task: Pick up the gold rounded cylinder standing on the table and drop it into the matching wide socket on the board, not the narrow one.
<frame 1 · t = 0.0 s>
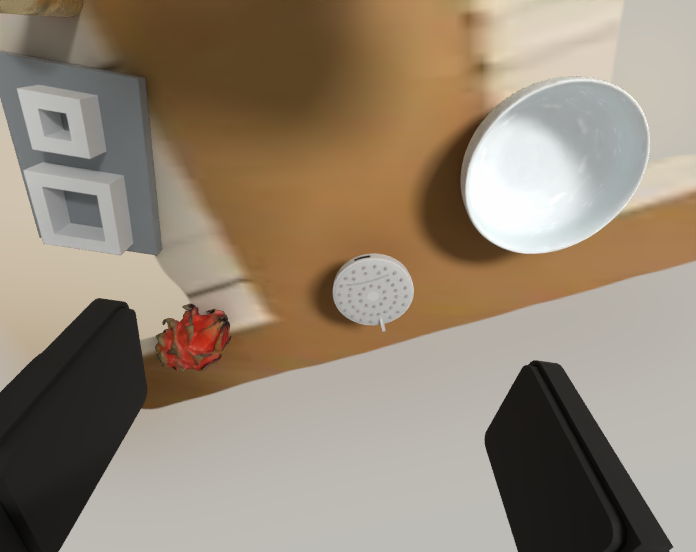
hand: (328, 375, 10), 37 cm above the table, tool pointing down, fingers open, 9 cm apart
socket board: (91, 163, 44), on the table
showerhead: (371, 267, 51), on the table
cereal bowl: (526, 156, 43), on the table
dragon fruit: (204, 320, 56), on the table
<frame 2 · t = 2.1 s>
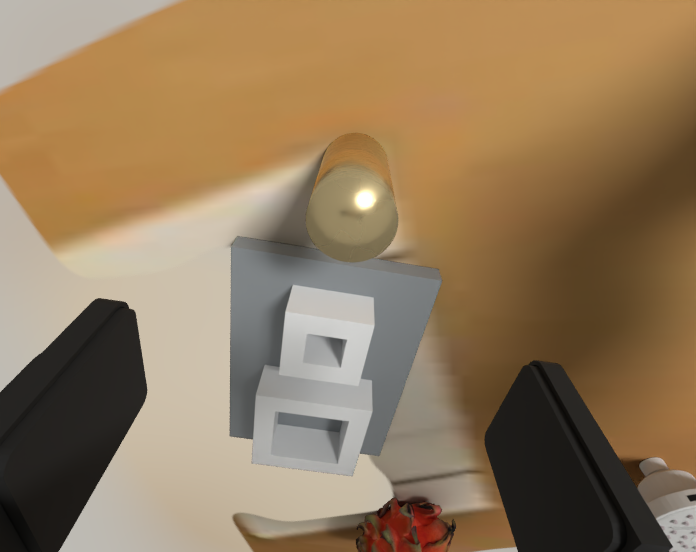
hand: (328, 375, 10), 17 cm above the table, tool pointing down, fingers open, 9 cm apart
gold rounded cylinder: (354, 167, 24), on the table
socket board: (320, 357, 32), on the table
showerhead: (649, 463, 39), on the table
dragon fruit: (401, 503, 44), on the table
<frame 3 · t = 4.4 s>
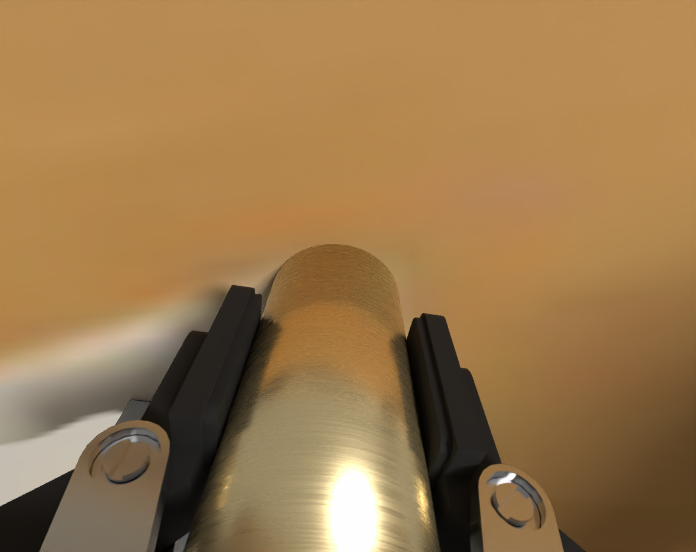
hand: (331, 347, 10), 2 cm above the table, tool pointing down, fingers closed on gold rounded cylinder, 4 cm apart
gold rounded cylinder: (334, 300, 12), on the table, touching gripper
socket board: (290, 542, 21), on the table
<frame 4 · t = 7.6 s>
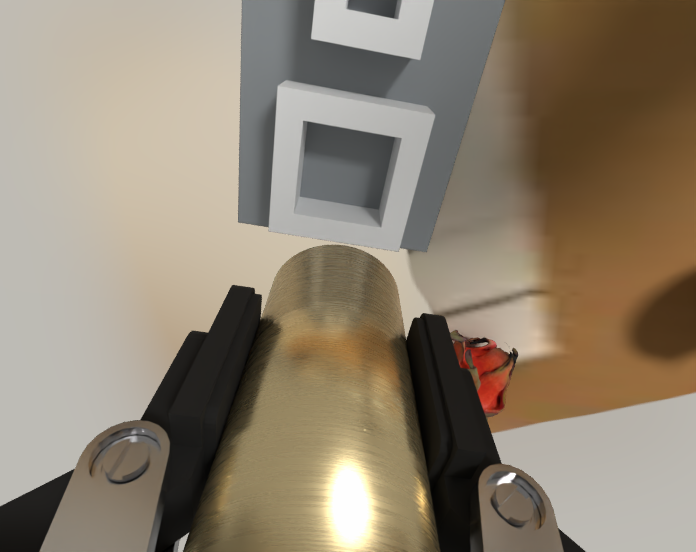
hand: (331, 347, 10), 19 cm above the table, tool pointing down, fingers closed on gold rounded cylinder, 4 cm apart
gold rounded cylinder: (334, 301, 12), point 17 cm above the table, touching gripper
socket board: (358, 86, 25), on the table
dragon fruit: (443, 352, 37), on the table
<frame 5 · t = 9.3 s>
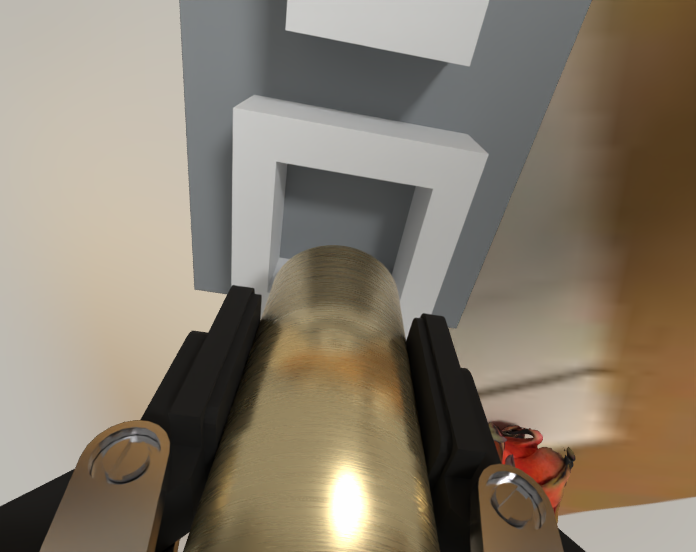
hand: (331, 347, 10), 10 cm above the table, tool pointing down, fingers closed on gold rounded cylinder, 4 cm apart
gold rounded cylinder: (334, 301, 12), point 8 cm above the table, touching gripper
socket board: (363, 103, 17), on the table
dragon fruit: (469, 436, 29), on the table
when the fingers open (5 cm above the table, at t = 11.0 s): gold rounded cylinder drops 2 cm, resting on socket board.
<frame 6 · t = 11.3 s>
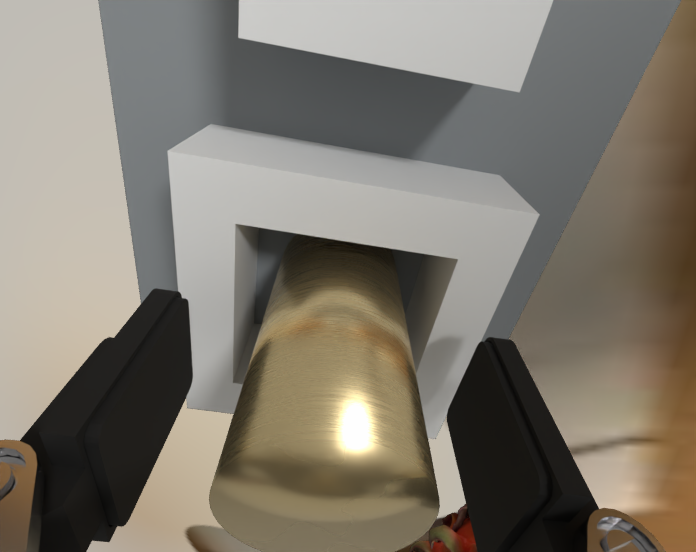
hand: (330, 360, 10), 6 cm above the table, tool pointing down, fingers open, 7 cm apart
gold rounded cylinder: (338, 272, 14), point 2 cm above the table, touching socket board
socket board: (360, 132, 13), on the table
dragon fruit: (485, 505, 25), on the table
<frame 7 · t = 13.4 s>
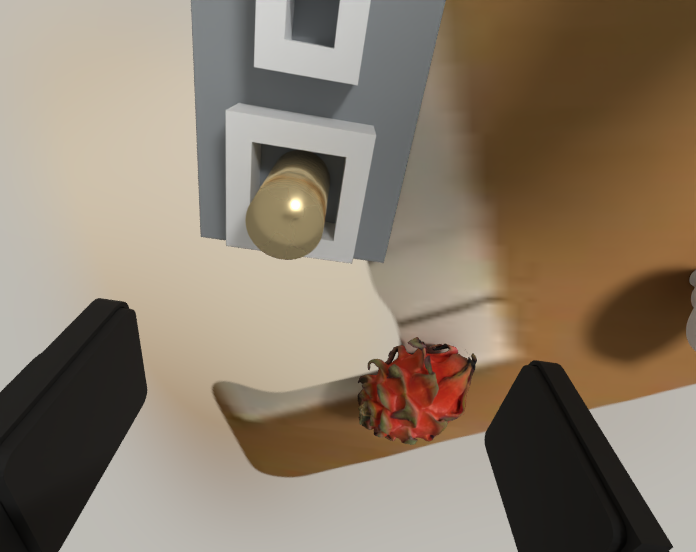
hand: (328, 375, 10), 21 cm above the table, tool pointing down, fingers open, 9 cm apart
gold rounded cylinder: (301, 179, 27), point 2 cm above the table, touching socket board
socket board: (309, 107, 26), on the table
dragon fruit: (409, 358, 38), on the table
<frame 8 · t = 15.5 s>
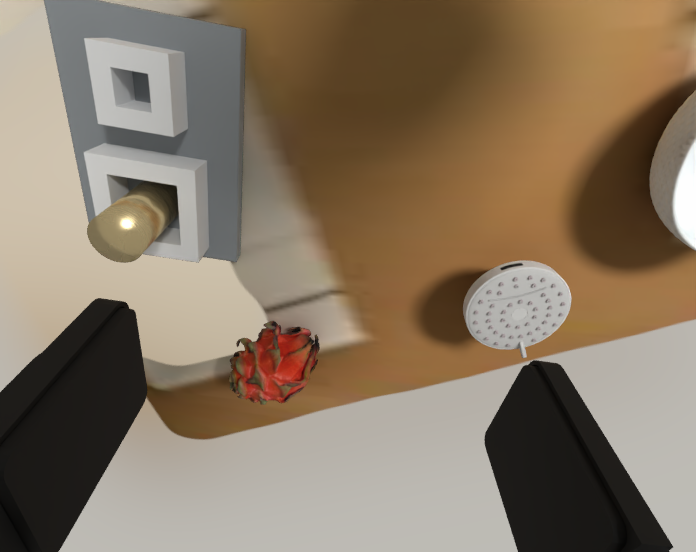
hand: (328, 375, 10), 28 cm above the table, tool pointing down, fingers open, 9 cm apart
gold rounded cylinder: (160, 198, 36), point 2 cm above the table, touching socket board
socket board: (163, 145, 35), on the table
showerhead: (496, 276, 41), on the table
dragon fruit: (281, 339, 47), on the table
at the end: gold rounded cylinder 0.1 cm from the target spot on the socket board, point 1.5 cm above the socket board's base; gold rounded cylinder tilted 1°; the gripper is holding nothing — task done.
